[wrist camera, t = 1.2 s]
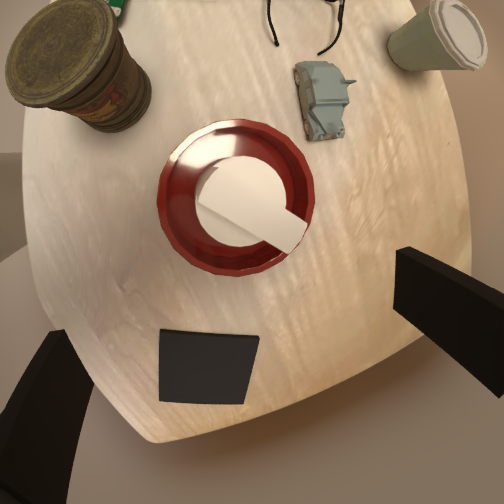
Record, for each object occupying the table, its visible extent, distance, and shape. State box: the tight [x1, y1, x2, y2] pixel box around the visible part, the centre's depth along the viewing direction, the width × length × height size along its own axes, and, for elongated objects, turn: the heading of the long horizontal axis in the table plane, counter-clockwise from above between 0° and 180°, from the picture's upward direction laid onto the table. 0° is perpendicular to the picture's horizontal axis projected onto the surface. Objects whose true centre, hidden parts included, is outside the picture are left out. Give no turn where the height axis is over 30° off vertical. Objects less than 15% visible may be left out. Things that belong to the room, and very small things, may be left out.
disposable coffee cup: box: [387, 0, 488, 71], centre depth 25 cm, size 11×11×15 cm
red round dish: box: [157, 119, 315, 277], centre depth 32 cm, size 17×17×5 cm
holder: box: [159, 329, 260, 404], centre depth 40 cm, size 14×14×1 cm
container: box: [5, 0, 151, 132], centre depth 19 cm, size 9×9×18 cm
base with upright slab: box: [194, 156, 307, 254], centre depth 28 cm, size 9×9×12 cm
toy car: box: [295, 61, 357, 141], centre depth 30 cm, size 6×10×5 cm, turn 10°
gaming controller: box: [104, 0, 125, 20], centre depth 21 cm, size 9×4×6 cm
